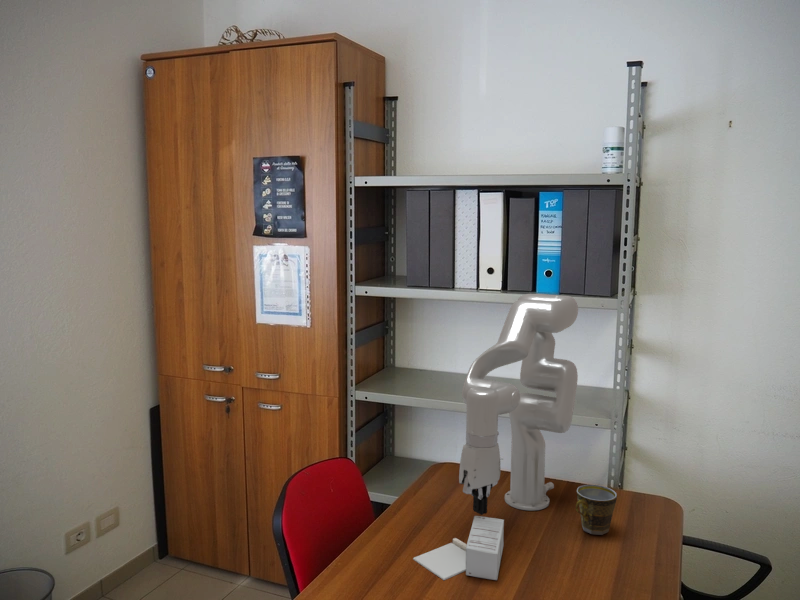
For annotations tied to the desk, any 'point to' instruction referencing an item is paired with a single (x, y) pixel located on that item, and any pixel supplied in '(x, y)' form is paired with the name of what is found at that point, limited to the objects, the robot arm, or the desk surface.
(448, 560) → the mat
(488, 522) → the supplement box
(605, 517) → the ceramic cup
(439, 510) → the desk surface
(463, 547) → the strip
